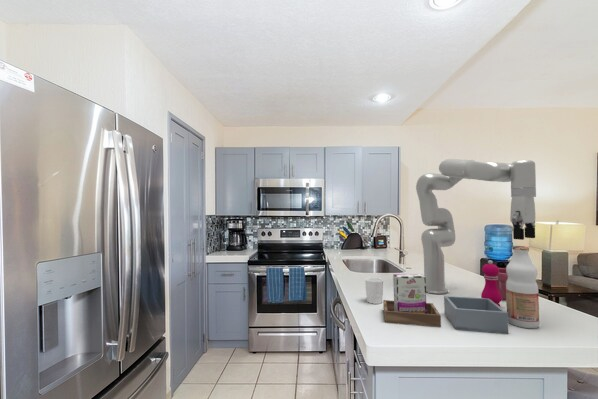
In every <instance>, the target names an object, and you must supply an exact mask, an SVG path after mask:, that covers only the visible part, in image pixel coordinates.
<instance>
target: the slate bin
mask: <svg viewBox="0 0 598 399" xmlns="http://www.w3.org/2000/svg"><path fill="white" fill-rule="evenodd" d="M443 304H444V305H443V306H444V307H443V308H444V311H443V312H444V313H443V314H444V315H445V316H446V318H447V319H448V321H449V322H450V324H451V325H452V326H453V328H454V329H455V330H456V329H457V330H458V331H469V332H478V333H479V332H481V333H491V334H492V333H494V334H505V335H509V322H508V313H507V310H505V309H503V307H501V306H500V307H499V306H498V305H497V304H495V303H494V302H493V301H491V300H490V299H487V298H481V297H469V296H468V297H467V296H466V297H465V296H451V295H450V296H449V295H443ZM457 330H456V331H457Z"/></svg>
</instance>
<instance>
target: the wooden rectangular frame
mask: <svg viewBox="0 0 598 399" xmlns="http://www.w3.org/2000/svg"><path fill="white" fill-rule="evenodd" d="M382 303H383V304H382V305H383V307H382V308H383V309H384V310H383V316H384V317H385V318H384V322H385V323H386V322H387V324H388V323H390V324H398V323H399V324H400V325H412V326H423V327H424V326H425V327H433V328H434V327H437V328H441V327H442V317H441V313H440V312H439V311H438V309H437V307H435V305H434V303H432V302H426V307H427V314H424V313H411V312H398V311H394V300H388V299H387V300H385V299H382ZM399 324H398V325H399Z"/></svg>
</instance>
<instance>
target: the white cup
mask: <svg viewBox="0 0 598 399" xmlns="http://www.w3.org/2000/svg"><path fill="white" fill-rule="evenodd" d="M364 283H365V296H366V302H367V303H368V302H369V303H368V304H371V303H373V304H372V305H380V303H381V304H382V303H383V295H384V279H382V278H380V277H366V278H365V280H364Z"/></svg>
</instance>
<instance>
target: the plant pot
mask: <svg viewBox="0 0 598 399" xmlns="http://www.w3.org/2000/svg"><path fill="white" fill-rule="evenodd" d="M498 268H499V274H498V275H497V276H498V280H497V288H498V290H499V292H500V294H501V298H502V300H501V301H506V281H507V279H508V276H507V273H506V267H498Z"/></svg>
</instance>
